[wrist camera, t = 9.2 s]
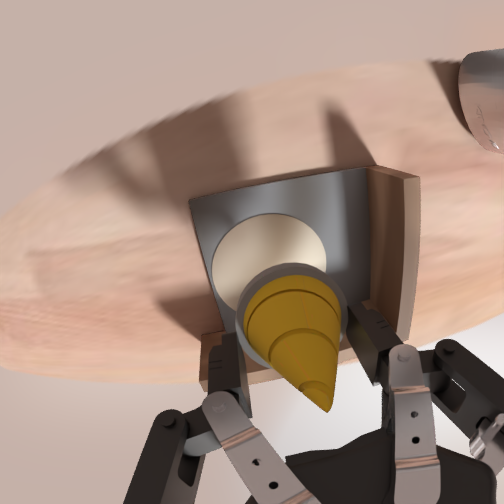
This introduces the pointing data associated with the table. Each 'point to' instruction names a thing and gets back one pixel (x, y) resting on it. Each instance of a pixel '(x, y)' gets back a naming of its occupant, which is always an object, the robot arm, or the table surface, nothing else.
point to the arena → (315, 244)
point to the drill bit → (295, 326)
